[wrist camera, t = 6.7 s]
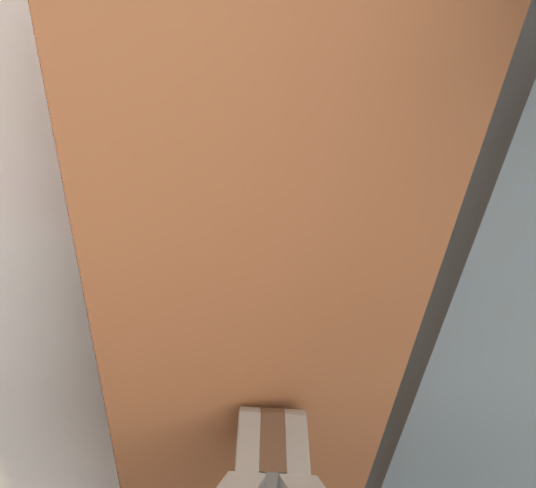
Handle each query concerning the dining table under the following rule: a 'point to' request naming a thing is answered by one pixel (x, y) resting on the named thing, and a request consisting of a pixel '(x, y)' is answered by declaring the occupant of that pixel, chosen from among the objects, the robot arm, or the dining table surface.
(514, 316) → the blue-grey open tray
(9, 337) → the dining table surface
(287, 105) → the panel
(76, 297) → the dining table surface
